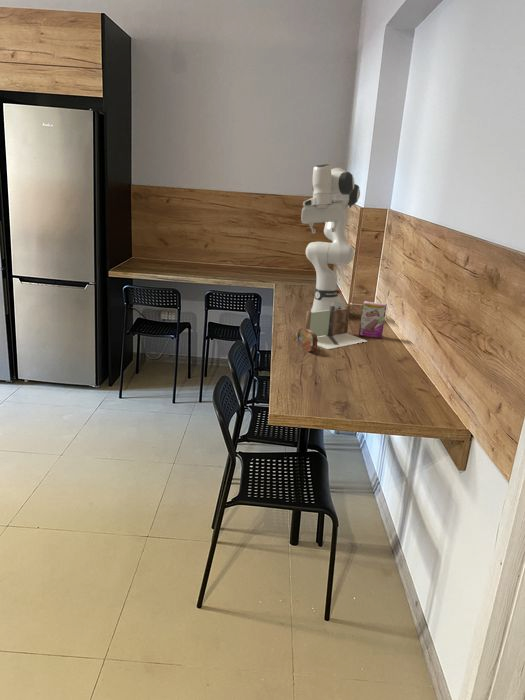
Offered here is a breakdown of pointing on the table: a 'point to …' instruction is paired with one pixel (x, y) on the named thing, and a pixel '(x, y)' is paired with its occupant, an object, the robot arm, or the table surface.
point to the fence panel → (318, 322)
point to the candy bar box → (372, 319)
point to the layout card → (338, 341)
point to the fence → (338, 320)
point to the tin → (307, 339)
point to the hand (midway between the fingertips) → (323, 232)
